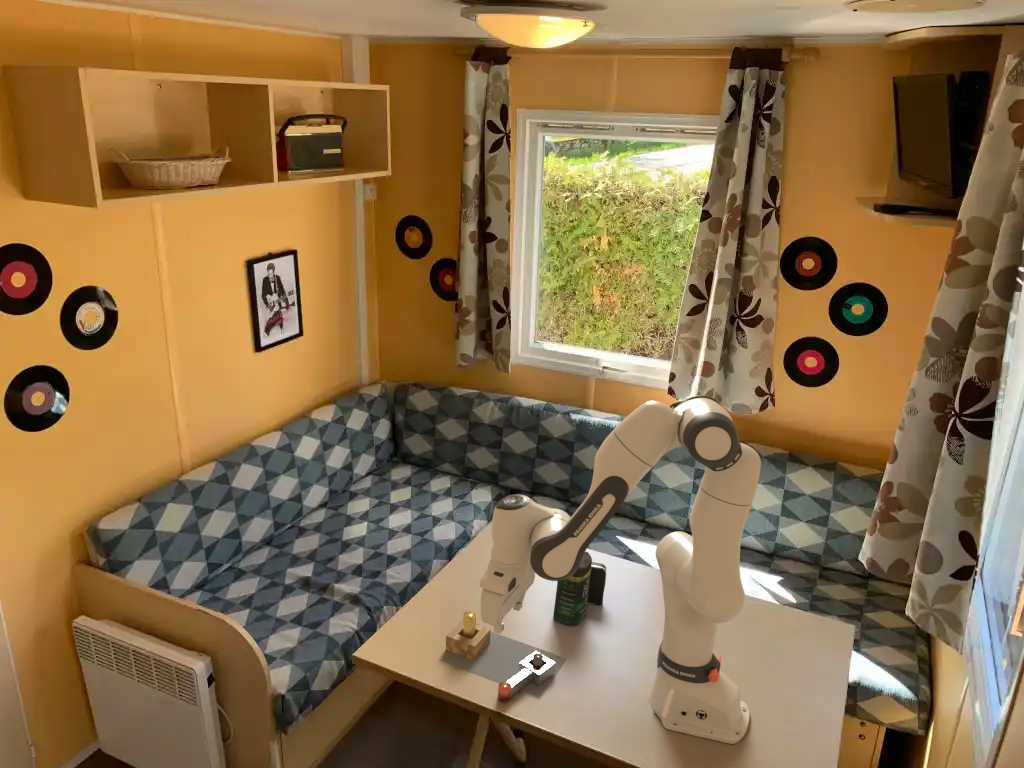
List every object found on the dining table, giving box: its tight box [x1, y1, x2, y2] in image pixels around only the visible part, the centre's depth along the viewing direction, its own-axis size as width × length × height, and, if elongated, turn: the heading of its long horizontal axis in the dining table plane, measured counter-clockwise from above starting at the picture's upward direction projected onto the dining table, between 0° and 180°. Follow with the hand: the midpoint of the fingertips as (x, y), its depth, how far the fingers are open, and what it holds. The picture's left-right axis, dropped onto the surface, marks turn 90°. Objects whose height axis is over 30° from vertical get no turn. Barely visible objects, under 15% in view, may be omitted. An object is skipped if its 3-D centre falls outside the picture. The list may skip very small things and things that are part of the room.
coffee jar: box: [553, 550, 593, 627], centre depth 205 cm, size 10×8×19 cm
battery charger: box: [587, 561, 607, 606], centre depth 214 cm, size 7×4×11 cm, turn 79°
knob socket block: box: [497, 651, 556, 703], centre depth 181 cm, size 16×6×3 cm, turn 139°
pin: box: [462, 610, 477, 639], centre depth 192 cm, size 3×3×9 cm
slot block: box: [445, 618, 492, 661], centre depth 193 cm, size 8×8×4 cm
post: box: [532, 653, 543, 669], centre depth 184 cm, size 2×2×5 cm
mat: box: [440, 631, 568, 699], centre depth 189 cm, size 26×16×1 cm, turn 64°
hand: (508, 619), depth 176 cm, fingers open, 8 cm apart
